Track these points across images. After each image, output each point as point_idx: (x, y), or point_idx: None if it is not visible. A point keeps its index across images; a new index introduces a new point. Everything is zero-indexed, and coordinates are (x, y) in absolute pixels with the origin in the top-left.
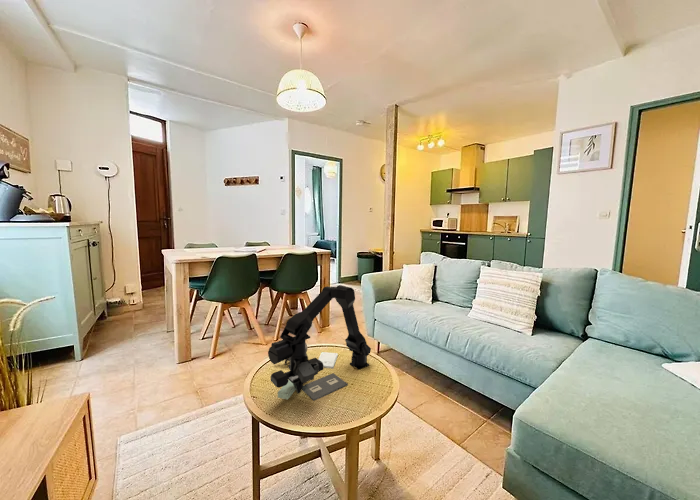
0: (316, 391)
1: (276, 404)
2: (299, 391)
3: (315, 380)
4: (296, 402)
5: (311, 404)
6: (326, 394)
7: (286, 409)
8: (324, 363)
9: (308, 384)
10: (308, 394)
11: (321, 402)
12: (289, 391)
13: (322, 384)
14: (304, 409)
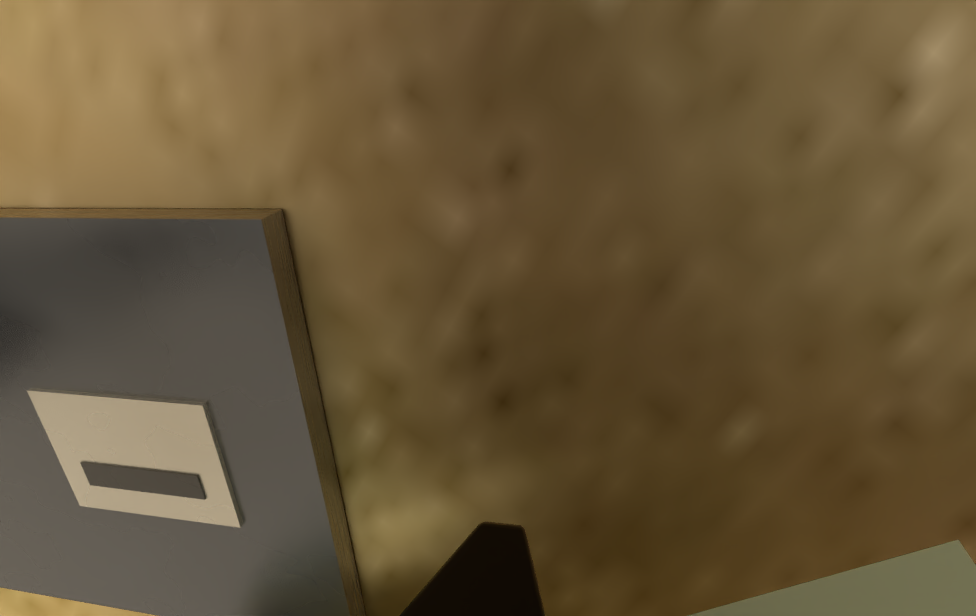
0: (140, 393)
1: None
2: (486, 575)
3: (95, 602)
4: (608, 398)
5: (367, 136)
6: None
7: (943, 349)
8: None
9: (217, 605)
10: (303, 420)
11: (145, 54)
12: None
13: (8, 471)
14: (596, 68)
